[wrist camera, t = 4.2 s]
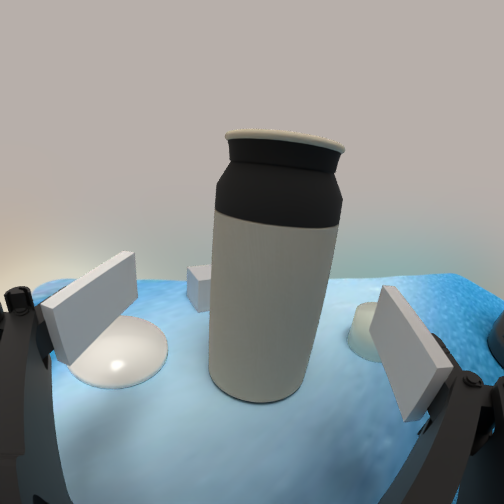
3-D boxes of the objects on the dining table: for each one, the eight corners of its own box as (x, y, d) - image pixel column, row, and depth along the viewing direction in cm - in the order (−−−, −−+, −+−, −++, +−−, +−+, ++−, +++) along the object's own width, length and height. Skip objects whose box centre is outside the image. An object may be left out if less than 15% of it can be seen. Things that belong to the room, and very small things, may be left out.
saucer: (140, 311, 28) (139, 307, 28) (189, 363, 22) (189, 358, 21) (56, 333, 21) (55, 328, 21) (81, 403, 15) (79, 398, 14)
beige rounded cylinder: (361, 323, 30) (369, 296, 29) (407, 343, 26) (418, 316, 25) (336, 345, 26) (345, 316, 25) (390, 372, 22) (403, 341, 21)
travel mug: (295, 415, 17) (355, 139, 12) (192, 388, 19) (199, 125, 13) (307, 353, 24) (344, 151, 19) (227, 335, 26) (243, 139, 21)
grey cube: (216, 292, 35) (218, 263, 34) (230, 307, 32) (232, 276, 30) (187, 297, 33) (187, 266, 32) (197, 313, 30) (198, 280, 28)
